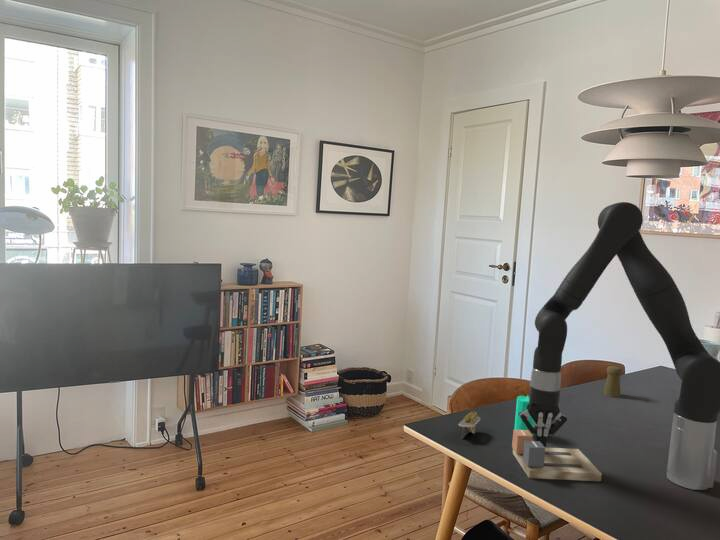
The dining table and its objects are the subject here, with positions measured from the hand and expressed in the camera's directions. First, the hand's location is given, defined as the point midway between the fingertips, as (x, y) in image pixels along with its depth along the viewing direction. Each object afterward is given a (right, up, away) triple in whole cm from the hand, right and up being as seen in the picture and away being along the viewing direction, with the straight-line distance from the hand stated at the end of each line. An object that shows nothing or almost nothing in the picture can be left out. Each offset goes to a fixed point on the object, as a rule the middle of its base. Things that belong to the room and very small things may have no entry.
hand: (539, 448), depth 142 cm
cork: (+47, 0, +59) cm, 76 cm away
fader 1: (-5, -1, 0) cm, 5 cm away
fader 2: (-4, -1, -7) cm, 8 cm away
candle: (+2, -2, +19) cm, 19 cm away
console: (+3, -4, -3) cm, 6 cm away
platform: (-16, -2, +14) cm, 22 cm away
